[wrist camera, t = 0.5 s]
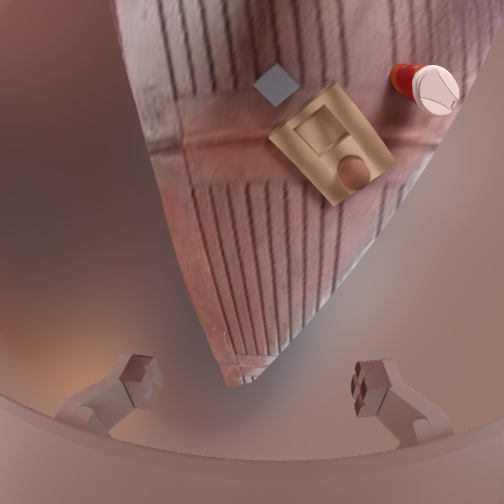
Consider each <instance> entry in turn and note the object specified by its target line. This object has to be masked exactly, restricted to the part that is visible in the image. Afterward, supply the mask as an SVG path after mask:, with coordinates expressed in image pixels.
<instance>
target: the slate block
mask: <svg viewBox="0 0 504 504" xmlns="http://www.w3.org/2000/svg"><path fill="white" fill-rule="evenodd" d="M253 86H254V87H255V88H256V89H257V90H258V91H259V92H260V93H261V94H262V95H263V96H264V97H265V98H266V99H267V100H268V101H269V102H270V103H271V104H272V105H274V106H275V107H277V106H278V105H279V104H280V103H282V102H283V101H284V100H285V99H286V98H287V97H289V96H290V95H291V94H292V93H293V92H295V91H296V90H297V89H298V88H300V87H299V84H298V82H297V81H296V80H295V79H294V78H293V77H292V76H291V75H290V74H289V73H288V72H287V71H286V70H285V69H284V68H283V67H281V66H280V65H279V64H278V63H276V64H275V65H274V66H272V67H271V68H270V69H269V70H268V71H267V72H266V73H264V74H263V75H262V76H261V77H260V78H259V79H258V80H256V82H255V83H254V84H253Z"/></svg>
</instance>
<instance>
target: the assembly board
mask: <svg viewBox="0 0 504 504" xmlns="http://www.w3.org/2000/svg"><path fill="white" fill-rule="evenodd" d="M269 139H270V140H271V141H272V142H273V143H274V144H275V145H276V146H277V147H278V148H279V149H280V150H281V151H282V152H283V153H284V154H285V155H286V156H287V157H288V158H289V159H290V160H291V161H292V162H293V163H294V164H295V165H296V166H297V167H298V168H299V169H300V171H301V172H302V173H303V174H304V175H305V176H306V177H307V178H308V179H309V180H310V181H311V182H312V183H313V184H314V185H315V187H316V188H317V189H318V190H319V191H320V192H321V193H322V194H323V195H324V196H325V198H326V199H327V200H328V201H329V202H330V203H331V204H332V205H333V207H335V206H336V205H337V204H339V203H340V202H342V201H343V200H345V199H346V198H348V197H349V196H350V195H352V194H353V193H355V192H356V191H358V190H361V189H363V188H365V187H366V186H367V185H368V183H369V182H370V181H372V180H373V179H375V178H376V177H378V176H379V175H380V174H382V173H383V172H385V171H386V170H388V169H389V168H390V167H392V166H393V165H395V164H396V163H397V162H396V160H395V159H394V157H393V156H392V154H391V153H390V151H389V150H388V148H387V147H386V145H385V144H384V142H383V141H382V140H381V138H380V137H379V135H378V134H377V133H376V131H375V130H374V129H373V127H372V126H371V125H370V123H369V122H368V121H367V119H366V118H365V117H364V115H363V114H362V113H361V112H360V110H359V109H358V108H357V106H356V105H355V104H354V103H353V102H352V100H351V99H350V98H349V97H348V95H347V94H346V93H345V92H344V91H343V90H342V88H341V87H340V86H339V85H338V84H337V83H336V82H335V81H332V82H331V83H330V84H328V85H327V86H326V87H324V88H323V89H322V90H321V91H319V92H318V93H317V94H315V95H314V96H313V97H312V98H310V99H309V100H308V101H307V102H305V103H304V104H303V105H302V106H300V107H299V108H298V109H297V110H296V111H294V112H293V113H292V114H291V115H290V116H288V117H287V118H286V119H285V120H284V121H282V122H281V123H280V124H279V125H278V126H276V127H275V128H274V129H273V130H272V131H271V132H270V133H269Z"/></svg>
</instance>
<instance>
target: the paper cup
mask: <svg viewBox="0 0 504 504" xmlns="http://www.w3.org/2000/svg"><path fill="white" fill-rule="evenodd" d="M390 80H391V83H392V85H393V86H394V88H395V89H396V90H398V91H399V92H400V93H402V94H403V95H405V96H406V97H407V98H409V99H410V100H412V101H413V102H415V103H416V104H417V105H418V106H419V107H420V109H421V110H423V111H424V112H425V113H427V114H429V115H432V116H443V115H447V114H449V113H450V112H452V109H454V107H455V106H456V104H457V101H458V100H459V89H458V85H457V83H456V81H455V79H454V78H453V77H452V75H451V74H450V73H449V72H448V71H447V70H446V69H444V68H442V67H440V66H436V65H429V66H422V65H413V64H399V65H396V66H395V67H394V68H393V69H392V71H391V73H390Z"/></svg>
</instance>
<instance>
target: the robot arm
mask: <svg viewBox="0 0 504 504" xmlns="http://www.w3.org/2000/svg"><path fill="white" fill-rule="evenodd" d="M157 366H158V361H157V358H155V357H150V356H143V355H137V354H129V353H123V354H121V356H120V357H119V359H118V361H117V363H116V364H115V366H114V367H113V369H112V371H111V373H110V375H109V376H108V377H104V378H102V379H101V380H99V381H97V382H95V383H94V384H92V385H90V386H88V387H87V388H85V389H83V390H81V391H80V392H78V393H76V394H74V395H72V396H71V397H69V398H67V399H66V400H65V401H64V403H63V405H62V406H61V408H60V409H59V411H58V413H57V414H56V416H55V418H52V417H50V416H48V415H45V414H43V413H41V412H38V411H36V410H34V409H32V408H29V407H27V406H25V405H23V404H21V403H19V402H17V401H15V400H13V399H11V398H9V397H7V396H5V395H3V394H0V504H504V416H503V417H501V418H498V419H496V420H493V421H491V422H488V423H486V424H483V425H480V426H478V427H475V428H472V429H469V430H467V431H464V432H461V433H458V434H454V432H453V429H452V427H451V424H450V422H449V419H448V417H447V414H446V413H445V412H444V411H443V410H441V409H440V408H438V407H437V406H436V405H434V404H433V403H431V402H430V401H428V400H427V399H426V398H424V397H423V396H421V395H420V394H419V393H417V392H416V391H414V390H413V389H412V388H410V387H409V386H404V384H403V382H402V380H401V377H400V374H399V372H398V369H397V367H396V365H395V362H394V360H393V359H392V358H389V359H381V360H370V361H359V362H357V363H356V366H355V371H356V373H355V374H354V375H353V377H352V381H351V393H352V397H353V398H354V399H355V400H356V402H355V405H354V407H355V411H356V416H357V418H360V417H370V416H376V417H377V418H378V419H379V420H380V421H381V422H382V423H383V424H384V425H385V426H386V428H387V429H388V430H390V431H391V433H393V435H394V436H395V437H396V438H397V439H398V440H399V441H400V444H399V445H398V447H397V448H396V449H395V450H390V451H385V452H379V453H373V454H366V455H359V456H351V457H341V458H331V459H319V460H318V459H317V460H296V461H295V460H294V461H264V460H240V459H227V458H216V457H207V456H198V455H191V454H185V453H178V452H172V451H167V450H161V449H156V448H151V447H147V446H142V445H138V444H134V443H130V442H126V441H122V440H118V439H114V438H111V436H110V435H109V433H108V431H109V430H110V429H111V428H112V427H114V426H115V425H116V424H117V423H119V422H120V421H121V420H122V419H123V418H125V417H126V416H127V415H128V414H129V413H131V412H132V411H133V410H134V409H135V408H138V409H144V410H151V411H153V408H154V406H155V403H156V401H157V398H156V394H157V393H159V392H160V390H161V387H162V381H163V379H162V373H161V371H160V370H159V369H158V368H157Z"/></svg>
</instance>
